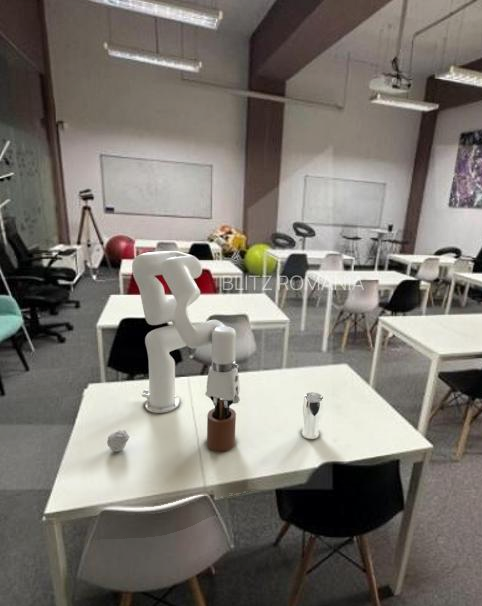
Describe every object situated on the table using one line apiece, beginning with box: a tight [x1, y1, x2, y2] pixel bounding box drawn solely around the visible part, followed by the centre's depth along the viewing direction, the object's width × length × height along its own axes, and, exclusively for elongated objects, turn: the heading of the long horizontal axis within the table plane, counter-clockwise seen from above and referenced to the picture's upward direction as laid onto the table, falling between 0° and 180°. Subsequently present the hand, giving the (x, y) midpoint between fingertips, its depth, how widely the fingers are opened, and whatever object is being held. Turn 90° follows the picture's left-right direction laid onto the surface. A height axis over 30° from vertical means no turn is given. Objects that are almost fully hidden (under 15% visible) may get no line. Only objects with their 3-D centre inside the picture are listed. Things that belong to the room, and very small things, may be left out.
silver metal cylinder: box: [301, 392, 324, 440], centre depth 135 cm, size 7×7×15 cm
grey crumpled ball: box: [106, 429, 130, 453], centre depth 121 cm, size 6×7×7 cm
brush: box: [219, 399, 225, 420], centre depth 126 cm, size 4×4×14 cm
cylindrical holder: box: [206, 407, 237, 453], centre depth 127 cm, size 9×9×11 cm
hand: (221, 415), depth 126 cm, fingers closed on brush
